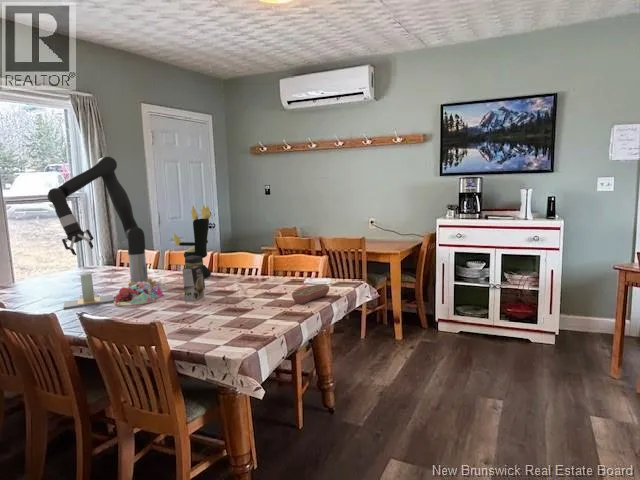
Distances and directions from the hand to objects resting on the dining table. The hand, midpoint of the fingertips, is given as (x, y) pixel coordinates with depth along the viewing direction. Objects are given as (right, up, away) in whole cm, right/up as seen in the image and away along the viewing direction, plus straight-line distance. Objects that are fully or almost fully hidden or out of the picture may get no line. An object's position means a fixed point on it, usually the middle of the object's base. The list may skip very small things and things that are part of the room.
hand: (84, 251), depth 242 cm
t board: (+9, -24, -12) cm, 29 cm away
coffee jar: (+59, -21, +3) cm, 63 cm away
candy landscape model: (+34, -24, -12) cm, 44 cm away
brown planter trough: (+122, -22, -27) cm, 128 cm away
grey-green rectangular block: (+11, -24, -17) cm, 31 cm away
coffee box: (+64, -23, -17) cm, 70 cm away
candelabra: (+53, -17, +34) cm, 66 cm away
